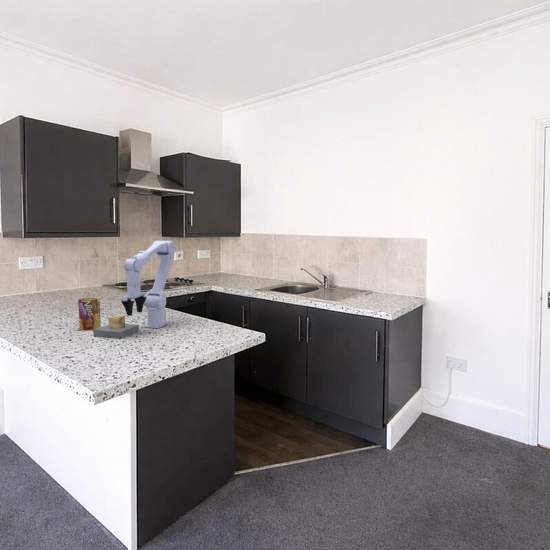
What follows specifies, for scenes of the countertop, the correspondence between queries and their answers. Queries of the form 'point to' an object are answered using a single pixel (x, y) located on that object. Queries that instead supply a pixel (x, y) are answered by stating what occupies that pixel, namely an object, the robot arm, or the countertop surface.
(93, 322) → the candy box
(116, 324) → the tan cube
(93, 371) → the countertop surface
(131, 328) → the base block
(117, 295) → the countertop surface
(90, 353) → the countertop surface
